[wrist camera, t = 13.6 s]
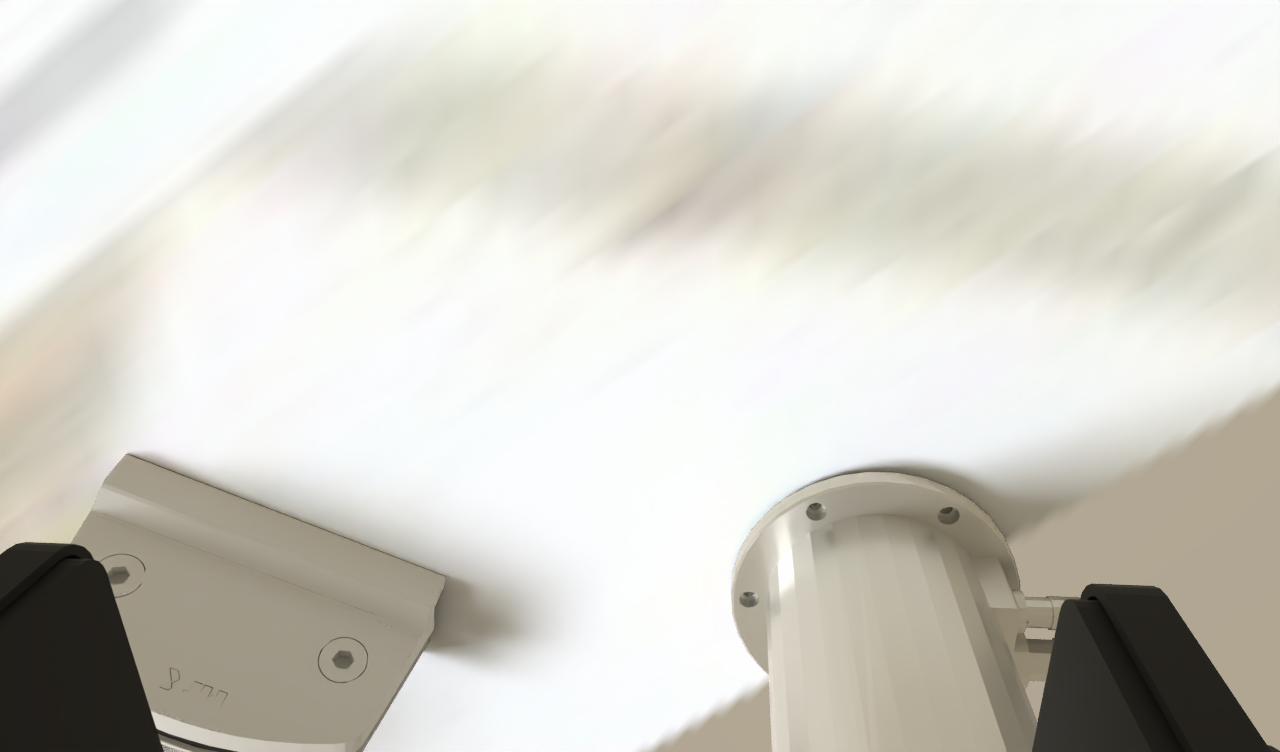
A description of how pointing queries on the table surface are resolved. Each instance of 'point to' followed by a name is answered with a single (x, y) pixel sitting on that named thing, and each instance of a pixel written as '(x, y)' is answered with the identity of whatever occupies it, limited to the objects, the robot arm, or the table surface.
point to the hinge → (254, 616)
